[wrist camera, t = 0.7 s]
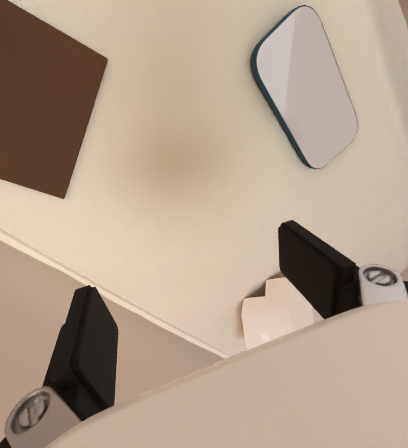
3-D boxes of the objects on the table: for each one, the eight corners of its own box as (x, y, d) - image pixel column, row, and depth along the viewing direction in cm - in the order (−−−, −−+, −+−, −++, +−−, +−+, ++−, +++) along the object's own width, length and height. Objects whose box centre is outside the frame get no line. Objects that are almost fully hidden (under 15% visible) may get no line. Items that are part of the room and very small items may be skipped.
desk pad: (-20, -15, 25) (-23, -18, 24) (107, 59, 30) (107, 58, 29) (-48, 162, 30) (-51, 163, 30) (64, 197, 36) (63, 199, 35)
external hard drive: (354, 131, 44) (363, 132, 43) (307, 174, 46) (314, 176, 44) (301, -3, 33) (311, -9, 31) (240, 59, 34) (246, 56, 32)
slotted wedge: (245, 282, 58) (234, 363, 47) (289, 276, 52) (289, 368, 40) (271, 308, 65) (267, 383, 53) (312, 305, 59) (318, 390, 47)
